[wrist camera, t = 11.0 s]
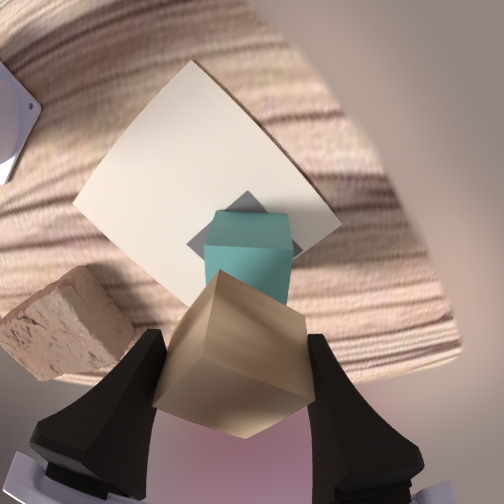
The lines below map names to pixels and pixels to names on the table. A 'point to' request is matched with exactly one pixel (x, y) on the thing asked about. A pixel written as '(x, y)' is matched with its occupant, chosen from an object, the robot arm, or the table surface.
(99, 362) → the brick
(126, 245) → the plate
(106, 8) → the table surface
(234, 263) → the teal block
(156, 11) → the table surface
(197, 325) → the beech block
